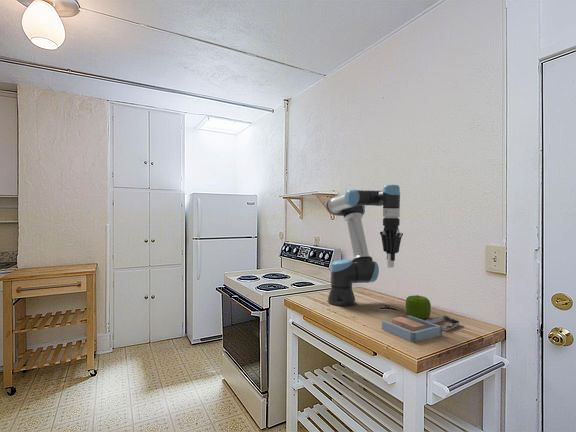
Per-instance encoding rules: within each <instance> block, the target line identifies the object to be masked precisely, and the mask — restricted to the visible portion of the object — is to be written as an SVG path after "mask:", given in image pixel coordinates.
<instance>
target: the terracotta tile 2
mask: <svg viewBox="0 0 576 432" xmlns="http://www.w3.org/2000/svg"><path fill="white" fill-rule="evenodd" d="M403 328H405V329H407V330H410V331H412V332H414V331H418V330H422V329H425V325H424V324H421V323H418V322H416V321H408V322H403Z"/></svg>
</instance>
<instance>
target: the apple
mask: <svg viewBox="0 0 576 432" xmlns="http://www.w3.org/2000/svg"><path fill="white" fill-rule="evenodd" d="M431 309H432V305H431V302H430V300H429V299H428V298H427V296H422V295H418V294H417V295H414V294H413V295H409V296H408V297H406V299H405V312H406V315H407V316H408V315H410V316H413V317H416V318H419V319H422V320H425V319H428V318H429V317H431V312H432V311H431Z"/></svg>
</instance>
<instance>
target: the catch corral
mask: <svg viewBox="0 0 576 432" xmlns="http://www.w3.org/2000/svg"><path fill="white" fill-rule="evenodd" d="M406 318H407V319H410V320H413V321H416V322H418V323H421V324H424V325H425V329H422V330H418V331H414V332H412V331H410V330H407V329H405V328H402V327H400V326H397V325H395V324H392V323H391V322H389V321H387V320H381V329H382V330H384V331H386V332H389V333H390V334H393V335H395V336H397V337H399V338H401V339H404V340H406V341H409V342H410V343H417V342H421V341H423V340H424V341H425V340H429V339H431V338H435V337H436V338H437V337H440V336H442V335H443V330H442V327H443V326H441V325H438V324H437V323H430V322H427V321H426V320H425V319H419V318H416V317H413V316H410V315H407V316H406Z"/></svg>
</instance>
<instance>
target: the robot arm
mask: <svg viewBox="0 0 576 432" xmlns="http://www.w3.org/2000/svg"><path fill="white" fill-rule="evenodd" d="M382 189H383V190H359V189H357V190H356V189H347V191H345V193H344V194H342V195H341V196H334V197H331V198H329V199H328V200H327V201H326V204H325V207H326V210H327V212H328V213H329V214H331V215H333V216H337V217H338V216H339V217H340V216H341V217H343V220H344V221H345V222H346V223H347V228H348V232H349V233H348V234H349V238H350V243H351V249H352V255H353V258H352V259H347V258H346V259H339V260H334V261H333V262H331V265H330V290H329V293H328V297H327V303H329V304H330V305H333V306H342V307H347V306H348V307H350V306H353V305H355V304H356V298H355V294H354V290H353V284H363V283H365V284H369V283H374V282H376V280H378V277H379V273H380V270H379V269H380V268H379V264H378V263H377V261H375V260H373V257H372V256H371V255H370V254H369V250H368V246H367V245H368V244H367V241H366V236H365V230H364V226H363V222H362V218H364V217H363V216H364V215H365V211H366V210H365V209H366V206H373V207H374V206H375V207H381V206H382V217H383V218H382V226H383V230H382V231H380V232H379V234H380V238H381V244H382V250H383V252H385V253H386V261H387V263H386V264H387V268H388V269H389V268H395V261H396V254H398V253H399V251H400V246H401V242H402V238H403V236H404V233H403V232H401V231H400V229H399V226H400V222H401V221H400V216H401V215H400V213H401V212H400V211H401V210H400V205H401V204H400V203H401V202H400V201H401V190H400V189H401V188H400V185H398V184H385V185H383V188H382Z"/></svg>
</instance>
